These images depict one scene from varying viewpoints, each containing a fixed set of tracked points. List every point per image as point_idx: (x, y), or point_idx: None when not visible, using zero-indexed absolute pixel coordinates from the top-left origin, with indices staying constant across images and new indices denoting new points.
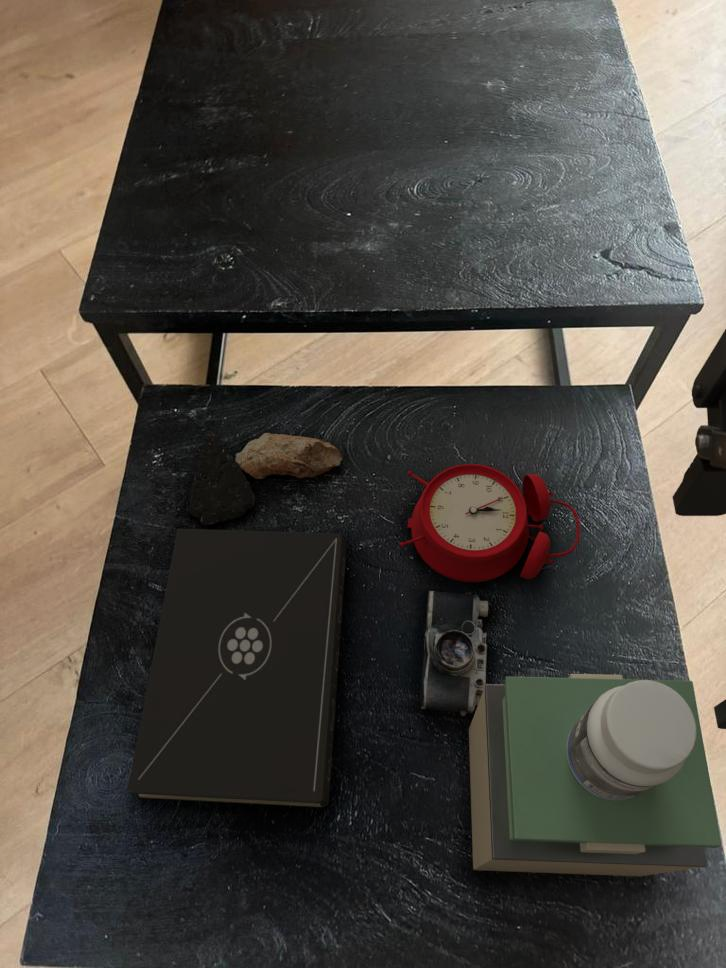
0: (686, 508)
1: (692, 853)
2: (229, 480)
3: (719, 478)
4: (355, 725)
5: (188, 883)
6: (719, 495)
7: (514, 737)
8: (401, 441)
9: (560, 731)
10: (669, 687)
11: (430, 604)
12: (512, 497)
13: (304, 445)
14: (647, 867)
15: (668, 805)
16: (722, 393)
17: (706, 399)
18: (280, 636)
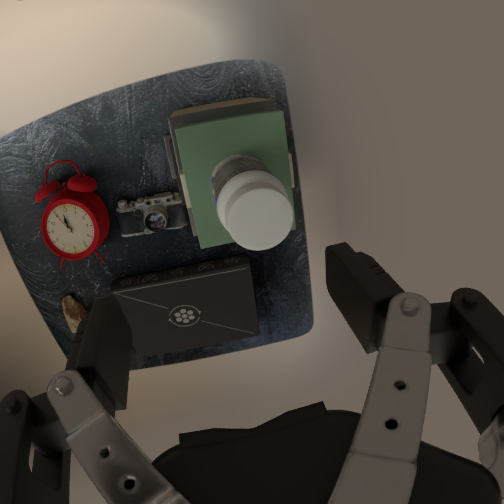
0: (128, 338)
1: (270, 108)
2: None
3: (116, 381)
4: (204, 250)
5: (285, 295)
6: (114, 340)
7: None
8: (43, 267)
9: None
10: (230, 209)
11: (130, 235)
12: (53, 208)
13: (71, 319)
14: None
15: (264, 142)
16: (54, 451)
17: (69, 458)
18: (174, 303)
